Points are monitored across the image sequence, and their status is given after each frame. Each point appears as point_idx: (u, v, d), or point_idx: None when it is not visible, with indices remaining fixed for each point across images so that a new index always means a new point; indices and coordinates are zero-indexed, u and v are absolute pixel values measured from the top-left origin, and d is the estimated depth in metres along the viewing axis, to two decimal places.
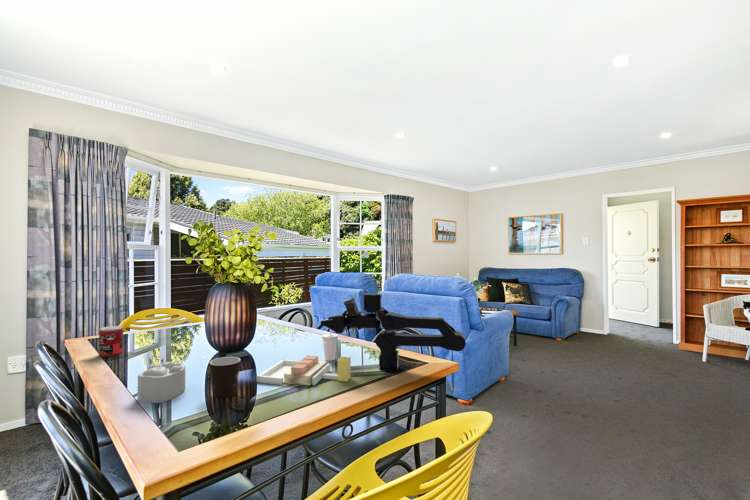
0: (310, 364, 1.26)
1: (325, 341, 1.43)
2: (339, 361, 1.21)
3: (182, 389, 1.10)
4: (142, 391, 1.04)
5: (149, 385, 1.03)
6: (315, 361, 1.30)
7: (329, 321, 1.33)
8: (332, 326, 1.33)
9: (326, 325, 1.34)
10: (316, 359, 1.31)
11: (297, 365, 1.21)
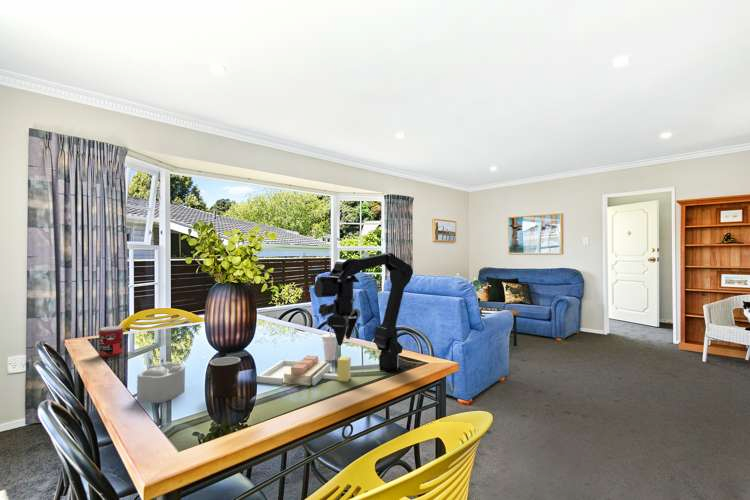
0: (310, 364, 1.26)
1: (325, 341, 1.43)
2: (339, 361, 1.21)
3: (182, 389, 1.10)
4: (142, 391, 1.04)
5: (149, 385, 1.03)
6: (315, 361, 1.30)
7: (336, 334, 1.17)
8: (342, 330, 1.17)
9: (341, 338, 1.17)
10: (316, 359, 1.31)
11: (297, 365, 1.21)
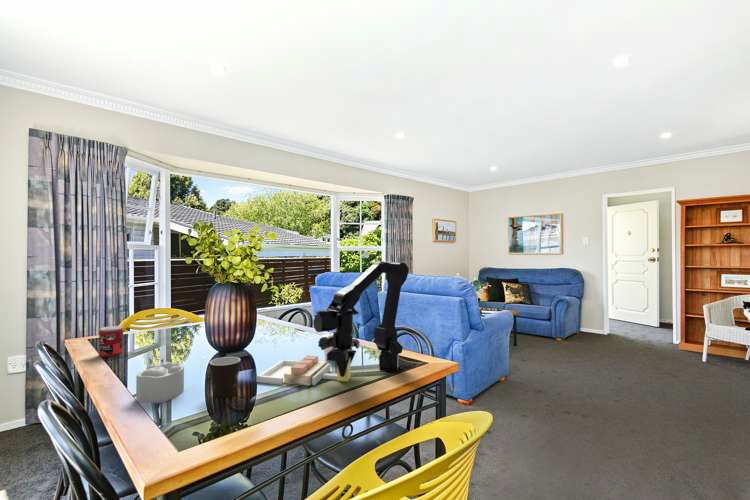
0: (310, 364, 1.26)
1: None
2: None
3: (181, 389, 1.10)
4: (141, 391, 1.03)
5: (148, 386, 1.03)
6: (315, 361, 1.30)
7: (339, 365, 1.20)
8: (344, 362, 1.19)
9: (344, 369, 1.20)
10: (316, 359, 1.31)
11: (297, 365, 1.21)
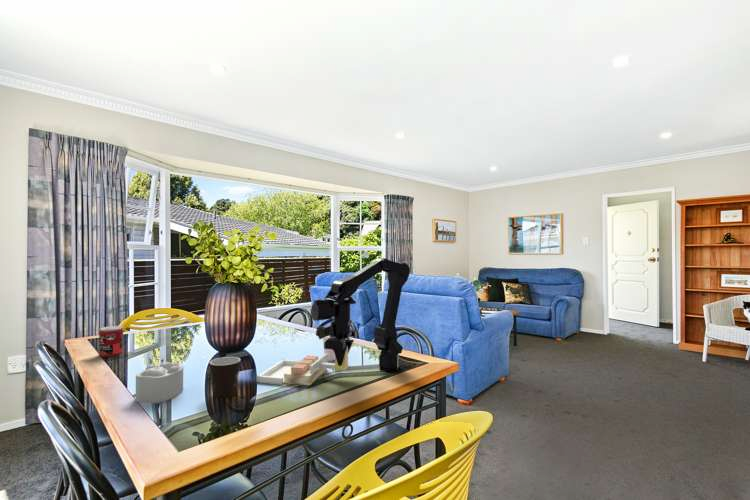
0: (310, 364, 1.26)
1: None
2: None
3: (180, 389, 1.10)
4: (140, 392, 1.03)
5: (148, 386, 1.03)
6: None
7: (336, 354, 1.20)
8: (341, 351, 1.20)
9: (341, 358, 1.20)
10: (316, 359, 1.31)
11: (297, 365, 1.21)
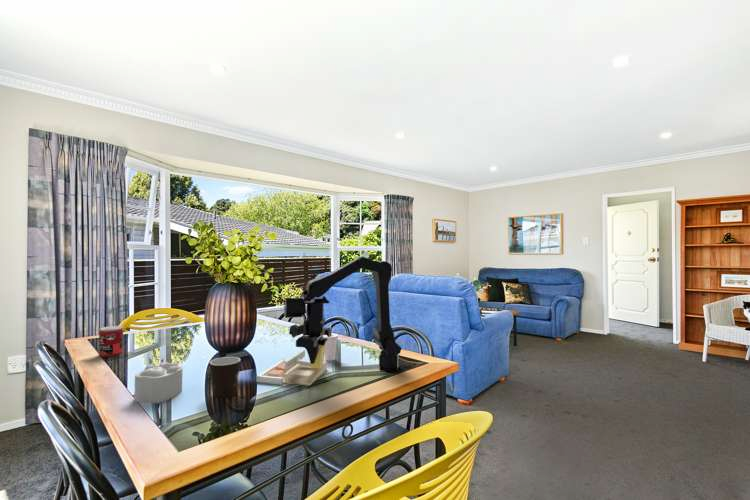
0: None
1: None
2: None
3: (179, 389, 1.10)
4: (140, 392, 1.03)
5: (147, 386, 1.03)
6: None
7: (309, 352, 1.22)
8: (314, 349, 1.22)
9: (313, 356, 1.22)
10: None
11: None
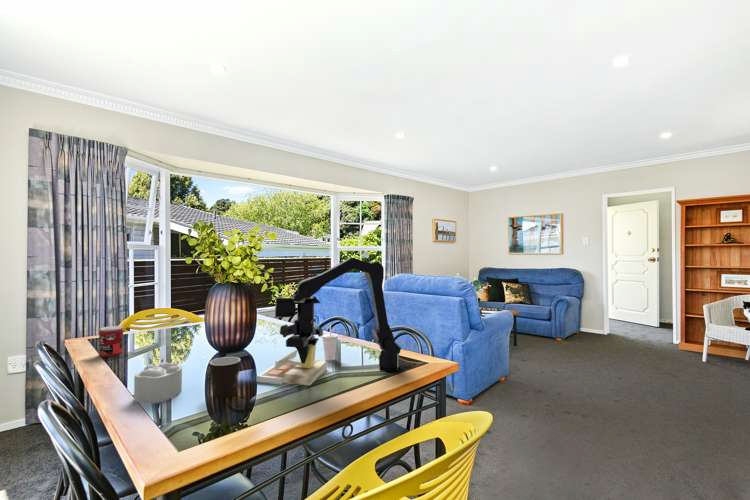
0: None
1: (325, 341, 1.43)
2: None
3: (179, 389, 1.10)
4: (139, 392, 1.03)
5: (147, 386, 1.03)
6: None
7: (299, 352, 1.23)
8: (304, 349, 1.22)
9: (304, 356, 1.23)
10: None
11: None
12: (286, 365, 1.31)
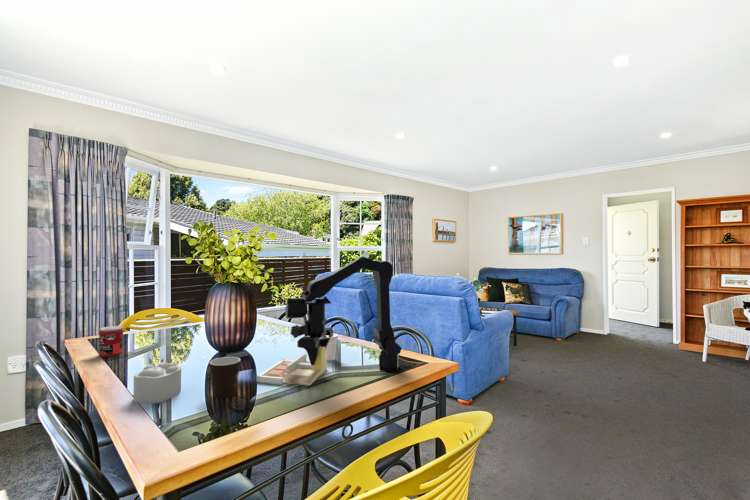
0: None
1: None
2: None
3: (178, 389, 1.10)
4: (139, 392, 1.03)
5: (146, 386, 1.03)
6: None
7: (309, 354, 1.21)
8: (314, 351, 1.20)
9: (314, 358, 1.21)
10: None
11: None
12: (286, 365, 1.31)
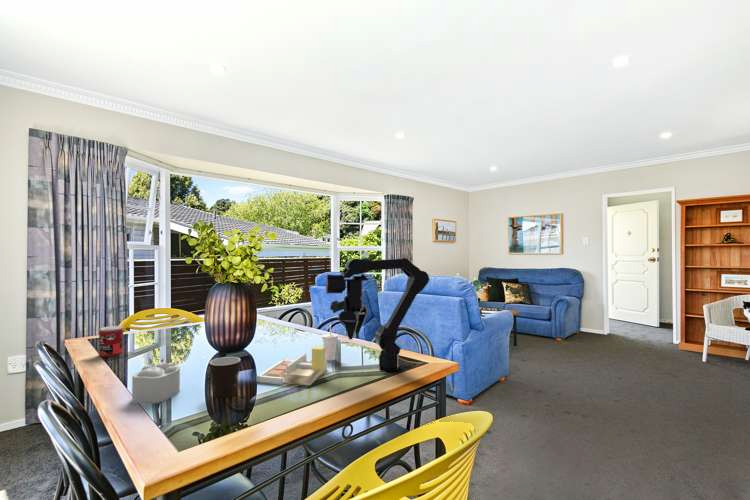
0: None
1: (325, 341, 1.43)
2: (313, 350, 1.23)
3: (177, 389, 1.10)
4: (137, 392, 1.03)
5: (145, 386, 1.03)
6: None
7: (347, 328, 1.26)
8: (352, 325, 1.25)
9: (352, 332, 1.26)
10: None
11: None
12: (286, 365, 1.31)
